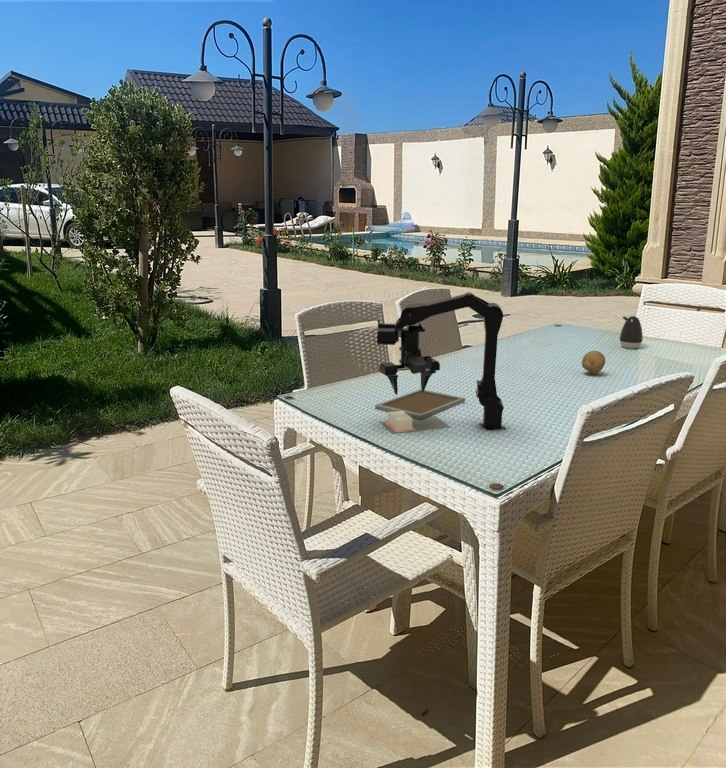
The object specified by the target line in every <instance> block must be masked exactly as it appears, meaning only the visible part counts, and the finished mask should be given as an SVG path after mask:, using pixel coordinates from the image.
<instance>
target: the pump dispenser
mask: <svg viewBox="0 0 726 768" xmlns="http://www.w3.org/2000/svg"><path fill="white" fill-rule="evenodd" d="M622 319H623V320H625V322H624V323H623V325H622V328H621V329H620V335H619V341H620V344H621V347H623V348H625V349H627V350H636V349H638V348H640V346H641V344H642V342H643V340H644V338H643V337H644V335H643V328H642V323H641V321H640V320H639V318H638V317H637V316H635V315H632V316H631V315H630V316H629V317H626V316H625V315H624V316H622Z"/></svg>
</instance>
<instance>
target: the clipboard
mask: <svg viewBox="0 0 726 768" xmlns="http://www.w3.org/2000/svg"><path fill="white" fill-rule="evenodd" d="M465 401H466V398H465V397H463V396H458V395H452V394H447V393H444V392H443V393H442V392H438V391H433V390H429V389H428V390H427V389H425V390H424V392H422V391H421V388H420V389H418V390H415V391H412V392H409V393H407V394H406V393H405V394H403V395H400V396H398V397H395V398H392V399H389V400H386V401H382V402H380V403H378V404H377V403H376V404H375V405H374V409H375V410H378V411H382V412H387V413H388V412H396V411H404V412H405V413H406V414H407V415H409V416H410V417H411V418H415V419H419V420H421V419H424V418H426V417H430V416H435V415H436V414H439V413H441V412H444V411H446V410H449V409H451V408H453V407H455V406H459V405H460V404H463V403H465Z"/></svg>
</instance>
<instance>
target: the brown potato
mask: <svg viewBox="0 0 726 768" xmlns="http://www.w3.org/2000/svg"><path fill="white" fill-rule="evenodd" d="M605 364H606V357H605V355H604V354H603V353H602V352H601V351H598V350H590V351H588V352H587V353H585V354H584V355H583V357H582V360H581V366H582V368H583V369H584V370H585V371H587V372H589V373H590V374H591V375H597V374H599V373H600V372H601V371H602V370H603V369H604V366H605Z"/></svg>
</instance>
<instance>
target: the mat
mask: <svg viewBox="0 0 726 768" xmlns="http://www.w3.org/2000/svg"><path fill="white" fill-rule="evenodd" d="M379 424H381V426H383V427H384V428H385V429H386V430H387V431H389V433H390V434H391V435H397V434H406V433H413V432H422V431H430V430H439V429H440V430H441V429H447V428H448V429H449V428H451V427H452V426H450V425H449V424H448V423H446V422H445V421H443V420H442V419H440V418H439V417H438V416H436V415H431V416H429V417H426V418H424V419H421V420H419V419H415V418H412V429H406V430H396V429H395V428H394V427H393V426H392V425H390V424H389V423H388V420H385V421H379Z"/></svg>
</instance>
